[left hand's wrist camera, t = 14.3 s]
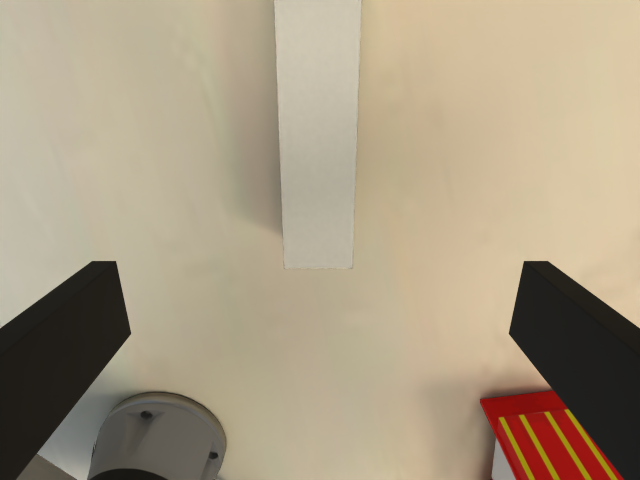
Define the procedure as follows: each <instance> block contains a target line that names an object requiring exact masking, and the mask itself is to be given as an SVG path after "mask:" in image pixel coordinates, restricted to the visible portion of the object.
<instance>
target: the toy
mask: <svg viewBox="0 0 640 480" xmlns="http://www.w3.org/2000/svg"><path fill="white" fill-rule="evenodd" d="M480 403H481V405H482V407H483V410H484V412H485V414H486V416H487V418H488V420H489V423H490V425H491V427H492V429H493V431H494V433H495V436H496V443H495V452H494V460H493V469H492V478H493V479H492V480H624V479H623V478H622V477H621V475H620V474H619V473H618V471H617V470H616V469H615V468H614V466H613V465H612V464H611V463H610V461H609V460H608V459H607V458H606V456H605V455H604V454H603V452H602V451H601V450H600V449H599V447H598V446H597V445H596V444H595V442H594V441H593V440H592V439H591V437H590V436H589V435H588V433H587V432H586V431H585V430H584V428H583V427H582V426H581V425H580V423H579V422H578V421H577V419H576V418H575V417H574V416H573V414H572V413H571V412H570V411H569V409H568V408H567V407H566V406H565V404H564V403H563V402H562V400H561V399H560V398H559V397H558V395H557V394H556V393H555V392H554V391H546V392H537V393H529V394H521V395H513V396H505V397H496V398H488V399H480Z"/></svg>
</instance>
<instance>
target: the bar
mask: <svg viewBox="0 0 640 480" xmlns="http://www.w3.org/2000/svg"><path fill="white" fill-rule="evenodd" d="M361 6H362V0H274V16H275V43H276V70H277V97H278V124H279V150H280V177H281V204H282V231H283V258H284V269H352V268H353V242H354V212H355V183H356V153H357V124H358V94H359V65H360V35H361Z"/></svg>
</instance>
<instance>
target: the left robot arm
mask: <svg viewBox="0 0 640 480" xmlns="http://www.w3.org/2000/svg"><path fill="white" fill-rule="evenodd" d="M130 335H131V330H130V326H129V321H128V316H127V311H126V307H125V302H124V297H123V292H122V287H121V283H120V278H119V273H118V268H117V264H116V261H92V262H90V263H89V264H88V265H86V266H85V267H84V268H82V269H81V270H79V271H78V272H77V273H75V274H74V275H73V276H71V277H70V278H69V279H67V280H66V281H64V282H63V283H62V284H60V285H59V286H58V287H56V288H55V289H54V290H52V291H51V292H49V293H48V294H47V295H45V296H44V297H43V298H41V299H40V300H38V301H37V302H36V303H34V304H33V305H32V306H30V307H29V308H28V309H26V310H25V311H23V312H22V313H21V314H19V315H18V316H17V317H15V318H14V319H13V320H11V321H10V322H8V323H7V324H6V325H4V326H3V327H2V328H0V480H77V479H75V478H74V477H72V476H70V475H69V474H67V473H66V472H64V471H63V470H61V469H60V468H58V467H57V466H55V465H53V464H52V463H50V462H49V461H47V460H46V459H44V458H43V457H41V456H40V455H38V454H37V452H38V451H39V450H40V449H41V447H42V446H43V445H44V444H45V442H46V441H47V440H48V439H49V437H50V436H51V435H52V433H53V432H54V431H55V430H56V428H57V427H58V426H59V425H60V423H61V422H62V421H63V419H64V418H65V417H66V416H67V414H68V413H69V412H70V411H71V409H72V408H73V407H74V406H75V404H76V403H77V402H78V400H79V399H80V398H81V397H82V395H83V394H84V393H85V392H86V390H87V389H88V388H89V387H90V385H91V384H92V383H93V381H94V380H95V379H96V378H97V376H98V375H99V374H100V373H101V371H102V370H103V369H104V368H105V366H106V365H107V364H108V362H109V361H110V360H111V359H112V357H113V356H114V355H115V354H116V352H117V351H118V350H119V348H120V347H121V346H122V345H123V343H124V342H125V341H126V340H127V338H128V337H129V336H130ZM509 335H510V336H511V337H512V338H513V340H514V341H515V342H516V343H517V345H518V346H519V347H520V348H521V350H522V351H523V352H524V354H525V355H526V356H527V357H528V359H529V360H530V361H531V362H532V364H533V365H534V366H535V368H536V369H537V370H538V371H539V373H540V374H541V375H542V376H543V378H544V379H545V380H546V381H547V383H548V384H549V385H550V387H551V388H552V389H553V390H554V392H555V393H556V394H557V395H558V397H559V398H560V399H561V400H562V402H563V403H564V404H565V406H566V407H567V408H568V409H569V411H570V412H571V413H572V414H573V416H574V417H575V418H576V419H577V421H578V422H579V423H580V425H581V426H582V427H583V428H584V430H585V431H586V432H587V433H588V435H589V436H590V437H591V439H592V440H593V441H594V442H595V444H596V445H597V446H598V447H599V449H600V450H601V451H602V452H603V454H604V455H605V456H606V458H607V459H608V460H609V461H610V463H611V464H612V465H613V466H614V468H615V469H616V470H617V471H618V473H619V474H620V475H621V477H622V478H623V479H624V480H640V328H638V327H637V326H636V325H634V324H633V323H632V322H630V321H629V320H627V319H626V318H625V317H623V316H622V315H621V314H619V313H618V312H617V311H615V310H614V309H612V308H611V307H610V306H608V305H607V304H606V303H604V302H603V301H602V300H600V299H599V298H597V297H596V296H595V295H593V294H592V293H591V292H589V291H588V290H586V289H585V288H584V287H582V286H581V285H580V284H578V283H577V282H576V281H574V280H573V279H571V278H570V277H569V276H567V275H566V274H565V273H563V272H562V271H561V270H559V269H558V268H556V267H555V266H554V265H552V264H551V263H550V262H548V261H524V264H523V268H522V273H521V278H520V283H519V287H518V292H517V297H516V302H515V307H514V311H513V316H512V321H511V326H510V330H509ZM94 445H95V443H94ZM225 450H226V438H225V434H224V431H223V428H222V427H221V425H220V423H219V422H218V420H217V419H216V418H215V417H214V416H213V415H212V414H211V413H210V412H209V411H208V410H207V409H206V408H204V407H203V406H201V405H200V404H198V403H196V402H194V401H192V400H190V399H187V398H185V397H182V396H179V395H174V394H169V393H145V394H140V395H136V396H133V397H130V398H128V399H126V400H124V401H123V402H121V403H120V404H118V405H117V406H116V407H115V408H114V409H113V410H112V411H111V413H110V414H109V416H108V417H107V419H106V420H105V422H104V423H103V425H102V427H101V429H100V431H99V434H98V437H97V441H96V445H95V449H94V447H93V452H94V453H93V452H92V459H91V466H90V470H89V474H88V478H87V480H214V478H215V477H216V475H217V473H218V471H219V470H220V468H221V465H222V462H223V458H224V454H225Z"/></svg>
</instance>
